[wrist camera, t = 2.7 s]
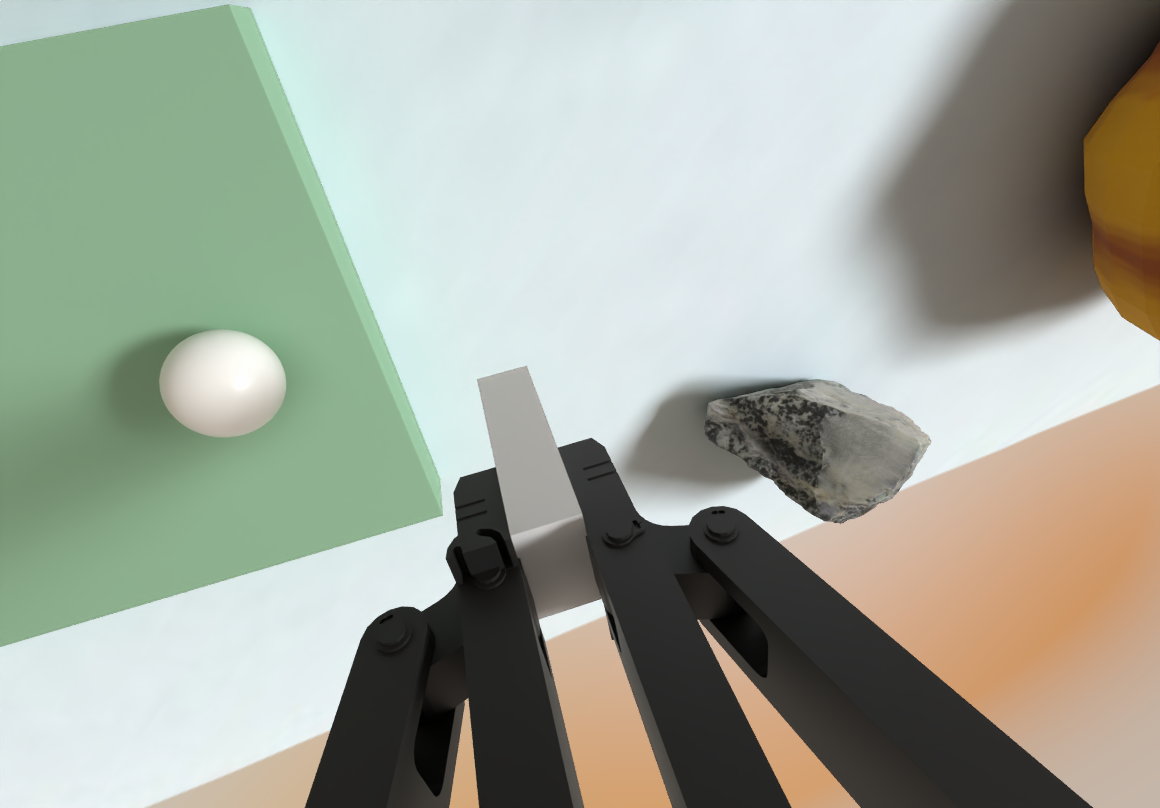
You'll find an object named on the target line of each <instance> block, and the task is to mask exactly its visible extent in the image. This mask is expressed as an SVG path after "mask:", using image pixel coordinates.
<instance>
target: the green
mask: <svg viewBox="0 0 1160 808" xmlns="http://www.w3.org/2000/svg"><path fill="white" fill-rule="evenodd" d="M216 329H227V330H235V331H239V332H243V333H246V334H249V335H251V336H253V337H256V338H257V339H259V340H261V341H262V342H263V343H265V344H266V345H267V346H268V347H269V348H270V349H271V350H273V352H274V353H275V354H276V355H277V357H278V358H279V360H280V362H281V364H282V366H283V368H284V372H285V376H286V393H285V397H284V400H283V403H282V405H281V407H280V409H279V410H278V412H277V413H276V414H275V415H274V417H273V418H272V419H271V420H270V421H269V422H267V423H266V424H265V425H264V426H262V427H260V428H259V429H257V430H255V431H253V432H250V433H248V434H245V435H241V436H236V437H212V436H207V435H203V434H200V433H197V432H195V431H193V430H191V429H189V428H187V427H185V426H184V425H182V424H181V423H180V422H179V421H178V420H176V419H175V418H174V417H173V416H172V414H171V413H170V412H169V411H168V409H167V407H166V406H165V404H164V402H163V399H162V397H161V393H160V385H159V378H160V372H161V368H162V365H163V363H164V361H165V359H166V358H167V356H168V354H169V353H170V352H171V351H172V350H173V349H174V348H175V347H176V346H177V345H178V344H179V343H180V342H182V341H183V340H185V339H186V338H188V337H190V336H192V335H194V334H197V333H200V332H204V331H209V330H216ZM439 516H443V511H442V498H441V485H440V478H439V475H438V473H437V470H436V468H435V465H434V463H433V460H432V458H431V455H430V453H429V450H428V448H427V445H426V443H425V440H424V438H423V435H422V433H421V430H420V428H419V426H418V423H417V421H416V418H415V416H414V413H413V411H412V408H411V406H410V403H409V401H408V398H407V396H406V393H405V391H404V388H403V386H402V383H401V381H400V378H399V376H398V373H397V371H396V368H395V366H394V363H393V361H392V358H391V356H390V354H389V351H388V349H387V346H386V344H385V341H384V339H383V336H382V334H381V331H380V329H379V326H378V324H377V321H376V319H375V316H374V314H373V311H372V309H371V306H370V304H369V301H368V299H367V296H366V294H365V291H364V289H363V287H362V284H361V282H360V279H359V277H358V274H357V272H356V269H355V267H354V264H353V262H352V259H351V257H350V254H349V252H348V249H347V247H346V244H345V242H344V239H343V237H342V234H341V232H340V229H339V227H338V224H337V222H336V219H335V217H334V215H333V212H332V210H331V207H330V205H329V202H328V200H327V197H326V195H325V192H324V190H323V187H322V185H321V182H320V180H319V177H318V175H317V172H316V170H315V167H314V165H313V162H312V160H311V157H310V155H309V152H308V150H307V147H306V145H305V143H304V140H303V138H302V135H301V133H300V130H299V128H298V125H297V123H296V120H295V118H294V115H293V113H292V110H291V108H290V105H289V103H288V100H287V98H286V95H285V93H284V90H283V88H282V85H281V83H280V80H279V78H278V75H277V73H276V71H275V68H274V66H273V63H272V61H271V58H270V56H269V53H268V51H267V48H266V46H265V43H264V41H263V38H262V36H261V33H260V31H259V28H258V26H257V23H256V21H255V18H254V16H253V13H252V11H251V8H245V7H240V6H234V5H229V4H228V5H223V6H218V7H212V8H207V9H201V10H196V11H190V12H185V13H180V14H174V15H169V16H163V17H158V18H152V19H147V20H142V21H136V22H131V23H125V24H120V25H114V26H109V27H104V28H98V29H93V30H87V31H82V32H76V33H71V34H66V35H60V36H55V37H49V38H44V39H38V40H33V41H28V42H22V43H17V44H11V45H6V46H1V47H0V647H2V646H5V645H8V644H12V643H15V642H18V641H22V640H25V639H28V638H32V637H35V636H39V635H42V634H45V633H49V632H52V631H55V630H59V629H62V628H66V627H69V626H72V625H76V624H79V623H82V622H86V621H89V620H92V619H96V618H99V617H103V616H106V615H109V614H113V613H116V612H119V611H123V610H126V609H130V608H133V607H136V606H140V605H143V604H146V603H150V602H153V601H156V600H160V599H163V598H167V597H170V596H173V595H177V594H180V593H183V592H187V591H190V590H194V589H197V588H200V587H204V586H207V585H210V584H214V583H217V582H220V581H224V580H227V579H231V578H234V577H237V576H241V575H244V574H247V573H251V572H254V571H258V570H261V569H264V568H268V567H271V566H274V565H278V564H281V563H284V562H288V561H291V560H295V559H298V558H301V557H305V556H308V555H311V554H315V553H318V552H322V551H325V550H328V549H332V548H335V547H338V546H342V545H345V544H349V543H352V542H355V541H359V540H362V539H365V538H369V537H372V536H375V535H379V534H382V533H386V532H389V531H392V530H396V529H399V528H402V527H406V526H409V525H413V524H416V523H419V522H423V521H426V520H429V519H433V518H436V517H439Z"/></svg>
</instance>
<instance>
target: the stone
mask: <svg viewBox="0 0 1160 808" xmlns="http://www.w3.org/2000/svg"><path fill="white" fill-rule="evenodd" d="M704 429H705V434H706V435H707V437H708V438H709V440H710V441H712V442H713V443H715V444H716V445H717V446H719V447H721V448H723V449H725V450H727V451H729V452H731V453H732V454H735V455H738V456H739V457H741V458H742V459H743V460H744V461H745V462H746V463H747V464H748V466H749V467H750V468H752V469H754V470H756V471H758V472H759V473H760V474H762V475H763V476H764V477H766V478H769V479H771V480H773V481H774V483H775V484H776V485H777V486H778V487H779V489H780V490H782V491H783V492H784V493H785V495H786V496H788V497H789V498H790V499H792V500H793V501H795V502H796V503H798V504H799V505H801V506H802V507H803V508H804V509H805V510H806V511H808V512H809V513H811V514H812V515H814V516H816V517H818V518H820V519H822V520H823V521H829V522H834V523H840V524H841V523H844V522H845V521H847V520H849V519H855V518H857V517H860V516H862V515H864V514H865V513H867V512H868V511H870V510H872V509H873V508H875V507H876V505H877V504H879V503H884V502H886V501H888V500H890V499H892V498H893V497H894V495H895V494H896V493H897V492H899V490H900V488H901V487H902V486H903V484H904V483H905V482H906V481H907V480H908V479H909V478H910V477H911V476H912V474H913V471H914V469H915V467H916V465H917V464H918V462H919V461H920V460H921V458H922V457H923V455H924V453H925V452H926V450H927V447H928V446H929V445H930V444H931V440H930V439H929V436H928V435H927V434H925V433H924V432H922V431H921V429H920V427H918V426H917V425H915V424H914V422H913V421H912V420H911V419H910V418H909V417H907V416H906V415H905V414H903V413H902V412H899V411H897V410H896V409H894V408H892V407H890V406H886V405H883V404H879V403H877V402H876V401H874V400H872V399H870V398H868V397H867V396H865V395H862V394H858V393H854V392H851V391H850V390H849V389H847V388H846V387H845V386H843V385H841V384H839V383H836V382H834V381H826V380H810V381H805V382H798V383H795V384H791V385H788V386H785V387H781V388H771V389H766V390H763V391H757V392H754V393H751V394H746V395H741V396H738V397H733V398H725V399H718V400H714V401H712V402H709V403H708V406H707V414H706V418H705V428H704Z"/></svg>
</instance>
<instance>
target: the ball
mask: <svg viewBox="0 0 1160 808" xmlns="http://www.w3.org/2000/svg"><path fill="white" fill-rule="evenodd" d="M159 385H160V393H161V397H162V399H163V402H164V404H165V406H166V407H167V409H168V411H169V412H170V413H171V414H172V416H173V417H174V418H175V419H176V420H178V421H179V422H180V423H181V424H182V425H184V426H185V427H187V428H189V429H191V430H193V431H195V432H197V433H200V434H203V435H207V436H212V437H236V436H241V435H245V434H248V433H250V432H253V431H255V430H257V429H259V428H260V427H262V426H264V425H265V424H266V423H267V422H269V421H270V420H271V419H272V418H273V417H274V415H275V414H276V413H277V412H278V410H279V409H280V407H281V405H282V403H283V400H284V397H285V393H286V376H285V372H284V368H283V366H282V364H281V362H280V360H279V358H278V357H277V355H276V354H275V353H274V352H273V350H271V349H270V348H269V347H268V346H267V345H266V344H265V343H263V342H262V341H261V340H259V339H257V338H256V337H253V336H251V335H249V334H246V333H243V332H239V331H235V330H227V329H216V330H209V331H204V332H200V333H197V334H194V335H192V336H190V337H188V338H186V339H185V340H183V341H182V342H180V343H179V344H178V345H177V346H176V347H175V348H174V349H173V350H172V351H171V352H170V353H169V354H168V356H167V358H166V359H165V361H164V363H163V365H162V368H161V372H160V378H159Z"/></svg>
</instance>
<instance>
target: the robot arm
mask: <svg viewBox="0 0 1160 808" xmlns="http://www.w3.org/2000/svg"><path fill="white" fill-rule="evenodd" d="M477 381H478V386H479V390H480V395H481V400H482V404H483V409H484V414H485V419H486V423H487V428H488V433H489V437H490V442H491V447H492V452H493V456H494V461H495V466H496V467H495V468H491V469H488V470H484V471H481V472H478V473H474V474H471V475H467V476H464V477H460V479H459V481H458V484H457V486H456V488H455V491H454V503H455V509H456V510H455V512H456V520H457V531H458V536H457V537H456V538H454V539H453V541H452V542H451V544H450V546H449V547H448V549H447V554H446V560H447V563H448V565H449V567H450V570H451V572H452V574H453V576H454V579H455V581H456V584H455V586H454V587H453V589H452V590H451V591H450V592H449V593H448V594H447V595H446V596H445V597H443V598H442V599H441V600H439V601H438V602H436V603H435V604H433V605H432V606H430V607H428V608H427V609H425V610H424V611H422V612H421V611H419V610H418V609H416V608H414V607H398V608H395V609H391V610H389V611H387V612H385V613H384V614H382V615H380V616H379V617H377V618H376V619H375V620H374V621H373V622H372V623H371V624H370V625H369V626H368V627H367V629H366V631H365V633H364V634H363V636H362V638H361V640H360V643H359V646H358V649H357V652H356V655H355V658H354V661H353V664H352V667H351V671H350V674H349V677H348V680H347V683H346V686H345V689H344V692H343V695H342V698H341V701H340V704H339V707H338V710H337V713H336V716H335V719H334V722H333V725H332V728H331V731H330V734H329V737H328V740H327V743H326V746H325V749H324V752H323V755H322V758H321V761H320V764H319V767H318V770H317V773H316V776H315V779H314V782H313V785H312V788H311V791H310V794H309V797H308V800H307V803H306V806H305V808H449V805H450V798H451V791H452V784H453V778H454V771H455V765H456V758H457V752H458V745H459V738H460V732H461V725H462V719H463V712H464V705H465V703H464V701H465V700H466V699H467V698H469V707H470V718H471V728H472V738H473V748H474V759H475V768H476V779H477V789H478V800H479V808H584V805H583V800H582V796H581V792H580V788H579V783H578V780H577V775H576V771H575V766H574V762H573V758H572V754H571V750H570V746H569V741H568V737H567V733H566V728H565V724H564V720H563V716H562V711H561V707H560V703H559V699H558V694H557V690H556V686H555V682H554V678H553V673H552V669H551V665H550V661H549V657H548V652H547V648H546V644H545V640H544V637H543V634H542V631H541V628H540V624H539V620H538V619H541V618H544V617H547V616H551V615H554V614H557V613H560V612H563V611H566V610H569V609H572V608H575V607H578V606H581V605H584V604H587V603H590V602H593V601H596V600H599V599H601V598H602V601H603V603H604V607H605V612H606V616H607V620H608V625H609V629H610V634H611V638H612V640H615V643H616V646H617V649H618V652H619V655H620V658H621V660H622V663H623V666H624V669H625V672H626V675H627V678H628V681H629V684H630V686H631V689H632V692H633V695H634V697H635V701H636V704H637V707H638V709H639V712H640V715H641V718H642V721H643V724H644V727H645V730H646V732H647V735H648V738H649V741H650V744H651V747H652V750H653V752H654V756H655V758H656V761H657V764H658V767H659V770H660V773H661V775H662V779H663V782H664V784H665V787H666V790H667V793H668V796H669V799H670V802H671V805H672V808H791V806H790V804H789V802H788V800H787V798H786V796H785V794H784V792H783V790H782V788H781V786H780V784H779V782H778V780H777V778H776V776H775V774H774V772H773V770H772V768H771V766H770V764H769V762H768V760H767V758H766V756H765V754H764V752H763V750H762V748H761V746H760V744H759V742H758V740H757V738H756V736H755V734H754V732H753V730H752V728H751V726H750V724H749V722H748V720H747V718H746V716H745V714H744V712H743V710H742V709H741V706H740V704H739V703H738V700H737V698H736V696H735V694H734V692H733V691H732V689H731V686H730V685H729V683H728V681H727V679H726V677H725V675H724V673H723V671H722V669H721V667H720V665H719V663H718V661H717V659H716V657H715V655H714V653H713V651H712V649H711V647H710V645H709V643H708V641H707V639H706V637H705V635H704V633H703V631H702V629H701V627H700V625H699V623H698V621H697V620H700V622H701V623H702V625H703V626H704V627H705V628H706V629H707V630H708V631H709V633H710V634H711V635H712V636H713V637H714V638H715V639H716V641H717V642H718V643H719V644H720V645H721V646H722V648H723V649H724V650H725V651H726V652H727V653H728V655H729V656H730V657H731V658H732V659H733V660H734V661H735V662H736V664H737V665H738V666H739V667H740V668H741V669H742V671H743V672H744V673H745V674H746V675H747V676H748V678H749V679H750V680H751V681H752V682H753V683H754V685H755V686H756V687H757V688H758V689H759V690H760V691H761V693H762V694H763V695H764V696H765V697H766V698H767V699H768V701H769V702H770V703H771V704H772V705H773V707H774V708H775V709H776V710H777V711H778V712H779V713H780V715H781V716H782V717H783V718H784V719H785V720H786V722H787V723H788V724H789V725H790V726H791V727H792V729H793V730H794V731H795V732H796V733H797V734H798V735H799V737H800V738H801V739H802V740H803V741H804V742H805V743H806V745H807V746H808V747H809V748H810V749H811V750H812V752H813V753H814V754H815V755H816V756H817V757H818V759H819V760H820V761H821V762H822V763H823V764H824V765H825V767H826V768H827V769H828V770H829V771H830V772H831V774H832V775H833V776H834V777H835V778H836V779H837V781H838V782H839V783H840V784H841V785H842V786H843V787H844V789H845V790H846V791H847V792H848V793H849V794H850V796H851V797H852V798H853V799H854V800H855V801H856V802H857V804H858V805H859V806H860V807H861V808H1093V807H1092V806H1090V805H1089V804H1088V803H1087V802H1086V801H1084V800H1083V799H1082V798H1081V797H1080V796H1079V795H1077V794H1076V793H1075V792H1074V791H1073V790H1071V789H1070V788H1069V787H1068V786H1067V785H1065V784H1064V783H1063V782H1062V781H1061V780H1060V779H1058V778H1057V777H1056V776H1055V775H1054V774H1052V773H1051V772H1050V771H1049V770H1048V769H1047V768H1045V767H1044V766H1043V765H1042V764H1041V763H1039V762H1038V761H1037V760H1036V759H1035V758H1034V757H1032V756H1031V755H1030V754H1029V753H1027V752H1026V751H1025V750H1024V749H1023V748H1022V747H1020V746H1019V745H1018V744H1017V743H1016V742H1015V741H1013V740H1012V739H1011V738H1010V737H1009V736H1007V735H1006V734H1005V733H1004V732H1003V731H1002V730H1000V729H999V728H998V727H997V726H996V725H994V724H993V723H992V722H991V721H990V720H988V719H987V718H986V717H985V716H984V715H983V714H981V713H980V712H979V711H978V710H977V709H975V708H974V707H973V706H972V705H971V704H969V703H968V702H967V701H966V700H965V699H964V698H962V697H961V696H960V695H959V694H957V693H956V692H955V691H954V690H953V689H952V688H951V687H949V686H948V685H947V684H946V683H944V682H943V681H942V680H941V679H940V678H939V677H938V676H936V675H935V674H934V673H933V672H932V671H930V670H929V669H928V668H927V667H926V666H925V665H923V664H922V663H921V662H920V661H918V660H917V659H916V658H915V657H914V656H913V655H911V654H910V653H909V652H908V651H907V650H905V649H904V648H903V647H902V646H901V645H900V644H898V643H897V642H896V641H895V640H894V639H893V638H891V637H890V636H889V635H888V634H887V633H885V632H884V631H883V630H882V629H881V628H879V627H878V626H877V625H876V624H875V623H874V622H872V621H871V620H870V619H869V618H868V617H866V616H865V615H864V614H863V613H862V612H860V611H859V610H858V609H857V608H856V607H855V606H853V605H852V604H851V603H850V602H849V601H847V600H846V599H845V598H844V597H843V596H842V595H840V594H839V593H838V592H837V591H836V590H834V589H833V588H832V587H831V586H830V585H828V584H827V583H826V582H825V581H824V580H823V579H821V578H820V577H819V576H818V575H817V574H815V573H814V572H813V571H812V570H811V569H810V568H808V567H807V566H806V565H805V564H804V563H802V562H801V561H800V560H799V559H798V558H797V557H795V556H794V555H793V554H792V553H791V552H789V551H788V550H787V549H786V548H785V547H784V546H782V545H781V544H780V543H779V542H778V541H776V540H775V539H774V538H773V537H772V536H770V535H769V534H768V533H767V532H766V531H765V530H763V529H762V528H761V527H760V526H759V525H757V524H756V523H755V522H754V521H753V520H752V519H750V518H749V517H748V516H747V515H745V514H744V513H742V512H740V511H739V510H737V509H734V508H730V507H725V506H718V507H710V508H707V509H704V510H701V511H700V512H699V513H697V514H696V515H695V516H694V517H693V518H692V520H691V522H690V524H689V525H685V526H662V525H657V524H653V523H651V522H649V521H647V520H645V519H644V518H643V517H641V516H640V515H639V514H638V512H637V511H636V509H635V508H634V506H633V503H632V501H631V499H630V497H629V495H628V493H627V491H626V489H625V487H624V485H623V483H622V481H621V479H620V477H619V475H618V473H617V472H616V469H615V467H614V465H613V463H612V462H611V459H610V457H609V455H608V453H607V451H606V449H605V447H604V446H602V445H601V444H600V443H598V442H597V441H595V440H594V439H592V438H589V439H586V440H582V441H579V442H576V443H572V444H569V445H565V446H562V447H559V448H557V445H556V443H555V440H554V437H553V435H552V432H551V429H550V427H549V424H548V421H547V419H546V416H545V413H544V411H543V408H542V405H541V403H540V400H539V397H538V395H537V392H536V389H535V387H534V384H533V382H532V379H531V376H530V374H529V371H528V368H527V366H524V367H520V368H517V369H513V370H509V371H506V372H502V373H498V374H495V375H491V376H487V377H484V378H480V379H477Z"/></svg>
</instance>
